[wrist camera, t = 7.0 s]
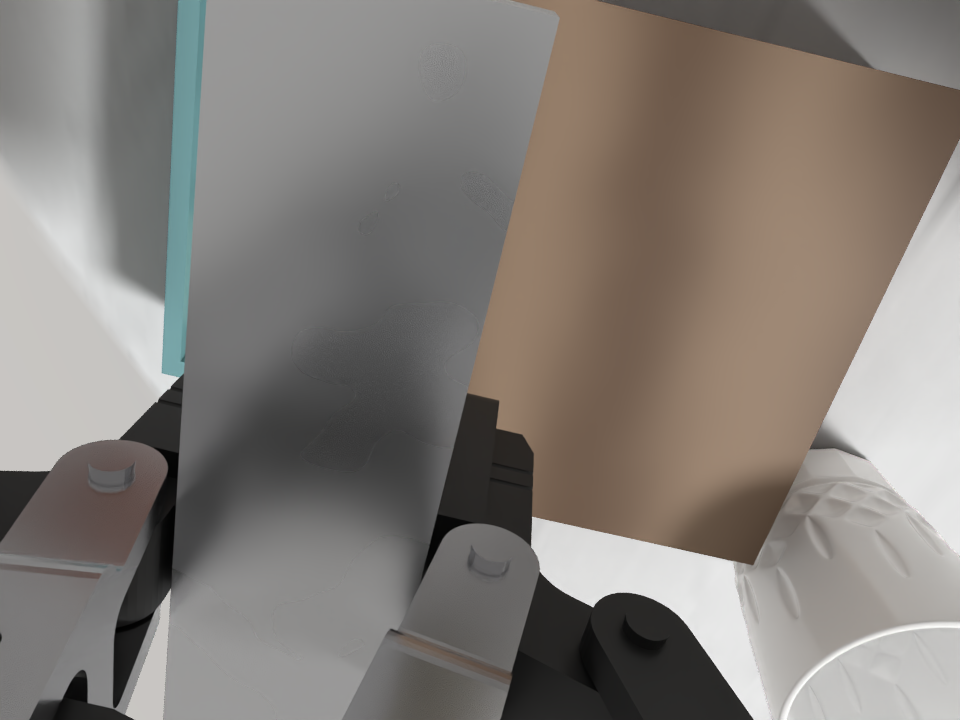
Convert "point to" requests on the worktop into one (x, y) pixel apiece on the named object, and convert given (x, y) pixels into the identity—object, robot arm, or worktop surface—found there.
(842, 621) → the white cup
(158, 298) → the worktop surface
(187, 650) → the steel bar
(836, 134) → the brown wooden box
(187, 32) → the teal box
